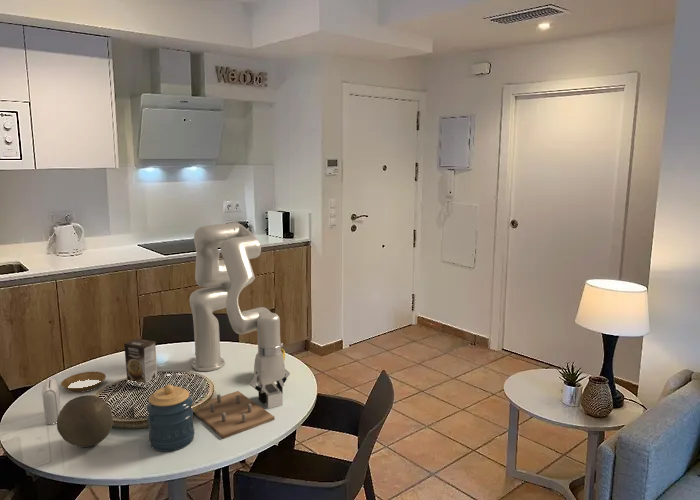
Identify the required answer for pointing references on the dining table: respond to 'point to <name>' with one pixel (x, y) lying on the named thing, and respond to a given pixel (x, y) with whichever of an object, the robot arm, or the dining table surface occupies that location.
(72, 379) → the plant saucer
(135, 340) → the coffee box
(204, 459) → the dining table surface
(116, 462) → the dining table surface
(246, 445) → the dining table surface
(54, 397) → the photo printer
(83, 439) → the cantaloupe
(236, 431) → the wooden peg board
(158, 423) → the canister
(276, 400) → the block
